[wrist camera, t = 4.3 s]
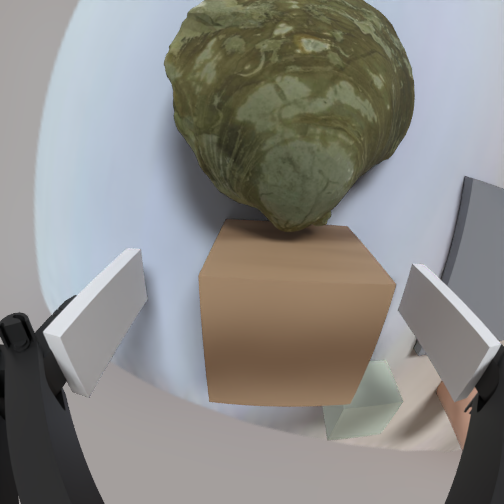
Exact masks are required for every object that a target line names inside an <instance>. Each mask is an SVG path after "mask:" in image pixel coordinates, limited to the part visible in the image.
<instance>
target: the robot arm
mask: <svg viewBox="0 0 504 504" xmlns="http://www.w3.org/2000/svg"><path fill="white" fill-rule="evenodd" d="M147 300H148V298H147V292H146V285H145V278H144V271H143V263H142V255H141V249H131V248H127V249H125V250H124V251H123V252H122V253H121V254H120V255H119V256H118V257H117V258H116V259H114V260H113V261H112V262H111V263H110V264H109V265H108V266H107V267H106V268H105V269H104V270H103V271H102V272H101V273H100V274H98V275H97V276H96V277H95V278H94V279H93V280H92V281H91V282H90V283H89V284H88V285H87V286H86V287H85V288H84V289H83V290H82V291H81V292H80V293H79V294H78V295H75V296H73V297H71V298H69V299H68V300H66V301H65V302H64V303H63V304H62V305H61V306H60V307H59V308H58V309H57V310H56V311H55V312H54V313H53V315H51V316H50V317H49V318H48V319H47V320H46V322H44V324H43V325H42V326H41V327H40V328H39V329H38V330H37V331H36V332H35V333H34V331H33V328H32V326H31V323H30V321H29V318H28V316H27V315H25V314H24V313H13V314H11V315H8V316H7V317H5V318H3V319H2V320H1V321H0V337H1V339H2V341H3V343H4V345H0V504H19V499H20V502H21V504H104V502H103V500H102V498H101V495H100V494H99V491H98V489H97V487H96V485H95V483H94V480H93V478H92V475H91V473H90V471H89V468H88V466H87V463H86V461H85V458H84V455H83V452H82V450H81V447H80V444H79V441H78V438H77V435H76V432H75V428H74V425H73V421H72V418H71V414H70V410H69V407H68V403H67V398H66V394H65V392H64V390H63V388H62V387H63V386H64V384H65V383H66V381H67V383H68V385H69V387H70V388H71V390H72V392H74V393H76V394H79V395H82V396H85V397H88V398H90V396H91V394H92V392H93V390H94V388H95V387H96V385H97V383H98V381H99V379H100V378H101V376H102V374H103V372H104V371H105V369H106V367H107V365H108V364H109V362H110V360H111V358H112V357H113V355H114V353H115V352H116V350H117V348H118V346H119V345H120V343H121V341H122V340H123V338H124V337H125V335H126V333H127V332H128V330H129V328H130V327H131V325H132V323H133V322H134V320H135V319H136V317H137V315H138V314H139V312H140V311H141V309H142V308H143V306H144V304H145V303H146V301H147ZM398 311H399V313H400V314H401V315H402V317H403V318H404V320H405V321H406V323H407V324H408V326H409V327H410V329H411V330H412V332H413V334H414V335H415V337H416V338H417V340H418V341H419V343H420V344H421V346H422V348H423V349H424V351H425V352H426V354H427V356H428V357H429V359H430V361H431V362H432V364H433V366H434V367H435V369H436V371H437V372H438V374H439V376H440V378H441V379H442V381H443V383H444V385H445V386H446V388H447V390H448V392H449V393H450V395H451V397H452V399H453V401H454V402H456V401H460V400H463V399H466V398H467V397H468V396H469V394H470V393H471V392H472V390H473V389H474V387H475V388H476V390H477V391H478V392H477V394H476V395H475V396H474V398H473V399H472V400H471V402H470V403H469V404H468V406H467V407H466V408H465V410H464V412H465V413H466V412H467V410H468V409H469V408H470V407H472V410H471V411H470V412H469V414H471V416H470V422H469V427H468V431H467V436H466V440H465V444H464V448H463V452H462V455H461V459H460V462H459V466H458V469H457V472H456V475H455V478H454V481H453V484H452V487H451V489H450V492H449V495H448V497H447V499H446V502H445V504H504V346H503V345H502V344H501V343H500V342H499V340H498V339H497V338H496V337H495V336H494V335H493V333H492V332H491V331H490V330H489V329H488V328H487V327H486V326H485V324H483V322H482V321H481V320H480V319H479V318H478V317H477V316H476V315H475V314H474V313H473V312H472V311H471V310H470V309H469V308H468V307H467V305H466V304H465V303H464V302H463V301H462V300H461V299H460V298H459V297H458V296H457V295H456V294H455V293H454V292H453V291H452V290H451V289H450V288H449V287H448V286H447V285H446V284H444V283H443V282H442V281H441V280H440V279H439V278H438V277H437V276H436V275H435V274H434V273H433V272H432V271H431V270H430V269H429V268H427V267H426V266H425V265H424V264H412V266H411V270H410V273H409V277H408V280H407V283H406V287H405V290H404V293H403V296H402V299H401V303H400V306H399V308H398ZM18 495H19V499H18Z"/></svg>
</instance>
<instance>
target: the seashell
mask: <svg viewBox="0 0 504 504" xmlns="http://www.w3.org/2000/svg"><path fill="white" fill-rule="evenodd" d="M164 66H165V71H166V74H167V77H168V78H169V80H170V82H171V84H172V88H173V108H174V111H175V112H174V120H175V124H176V127H177V129H178V131H179V132H180V133H181V134H182V136H183V137H184V138H185V140H186V142H187V143H188V144H189V145H190V147H191V148H192V150H193V152H194V153H195V155H196V158H197V160H198V163H199V166H200V167H201V169H202V170H203V172H204V173H205V174H206V175H207V176H208V177H209V178H210V180H211V181H212V183H213V184H214V185H215V187H216V188H217V189H218V190H219V191H220V192H221V193H223V194H225V195H226V196H228V197H229V198H231V199H232V200H234V201H236V202H238V203H241V204H246V205H249V206H251V207H254V208H257V209H258V210H260V211H261V212H262V213H263V214H264V215H265V216H266V217H267V218H268V219H269V220H270V221H271V223H272V224H273V225H274V226H275V227H276V228H277V229H279V230H281V231H285V232H294V231H300V230H302V229H304V228H306V227H308V226H309V225H314V226H323V225H326V224H327V220H328V219H329V218H330V217H331V210H332V209H333V208H334V207H336V205H337V204H338V203H339V202H340V201H341V199H342V198H343V197H344V196H345V194H346V193H347V192H348V190H349V189H350V188H351V187H352V186H353V185H354V183H355V182H356V180H357V179H358V178H359V177H360V176H362V175H363V174H364V173H366V172H367V171H368V170H369V169H371V168H372V167H373V166H375V165H376V164H378V163H380V162H382V161H383V160H386V159H389V158H390V157H391V156H392V155H393V153H394V152H395V150H396V149H397V147H398V145H399V144H400V142H401V141H402V139H403V138H404V136H405V135H406V133H407V130H408V128H409V126H410V123H411V119H412V115H413V110H414V97H415V94H414V80H413V75H412V68H411V65H410V63H409V60H408V57H407V55H406V52H405V49H404V47H403V46H402V44H401V42H400V40H399V38H398V36H397V34H396V32H395V30H394V28H393V26H392V24H391V23H390V22H389V21H388V19H387V18H386V17H385V16H384V15H383V14H382V13H381V12H380V11H378V10H377V9H375V8H374V7H372V6H371V5H369V4H368V3H366V2H365V1H363V0H204V1H203V2H201V3H200V4H199V5H197V6H196V7H194V8H192V9H191V10H190V11H189V12H188V14H187V18H186V19H185V20H184V21H183V22H182V25H181V28H180V30H179V32H178V34H177V35H176V37H175V39H174V40H173V42H172V43H171V44H170V46H169V52H168V53H167V55H166V57H165V61H164Z"/></svg>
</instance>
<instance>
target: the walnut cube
mask: <svg viewBox="0 0 504 504" xmlns="http://www.w3.org/2000/svg"><path fill="white" fill-rule="evenodd" d="M395 287H396V284H395V282H394V281H393V280H392V279H391V277H390V276H389V275H388V274H387V272H386V271H385V270H384V269H383V267H382V266H381V265H380V264H379V262H378V261H377V260H376V259H375V258H374V256H373V255H372V254H371V253H370V252H369V250H368V249H367V248H366V247H365V246H364V245H363V243H362V242H361V241H360V240H359V239H358V238H357V236H356V235H355V234H354V233H353V232H352V231H351V230H350V229H349V227H348V226H336V225H323V226H314V225H309V226H308V227H306V228H304V229H302V230H300V231H294V232H285V231H281V230H279V229H277V228H276V227H275V226H274V225H273V224H272V223H271V221H258V220H237V219H226V220H225V222H224V224H223V226H222V228H221V230H220V232H219V234H218V236H217V238H216V240H215V242H214V244H213V246H212V248H211V251H210V253H209V255H208V257H207V259H206V261H205V263H204V265H203V267H202V269H201V271H200V274H199V293H200V309H201V322H202V335H203V346H204V357H205V367H206V377H207V386H208V394H209V402H216V403H226V404H238V405H253V406H282V407H302V406H330V405H345V404H351V402H352V399H353V397H354V395H355V393H356V391H357V389H358V387H359V385H360V382H361V380H362V378H363V376H364V373H365V371H366V369H367V366H368V364H369V361H370V359H371V357H372V354H373V351H374V349H375V346H376V344H377V341H378V338H379V336H380V333H381V330H382V327H383V325H384V322H385V319H386V316H387V313H388V310H389V307H390V304H391V300H392V297H393V294H394V290H395Z"/></svg>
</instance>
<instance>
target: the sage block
mask: <svg viewBox="0 0 504 504" xmlns="http://www.w3.org/2000/svg"><path fill="white" fill-rule="evenodd" d="M402 403H403V400H402V397H401V395H400V392H399V390H398V387H397V385H396V382H395V380H394V378H393V375H392V373H391V371H390V368H389V366H388V364H387V361H386V360H382V361H369V364H368V366H367V369H366V371H365V373H364V376H363V378H362V380H361V382H360V385H359V387H358V389H357V391H356V393H355V395H354V397H353V399H352V402H351V404H345V405H330V406H322V407H323V414H324V420H325V427H326V434H327V440H337V439H347V438H356V437H363V436H370V435H377V434H381V432H382V431H383V430H384V428H385V427H386V426H387V424H388V423H389V422H390V420H391V419H392V417H393V416H394V414H395V413H396V412H397V410H398V409H399V407H400V406H401V404H402Z"/></svg>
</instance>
